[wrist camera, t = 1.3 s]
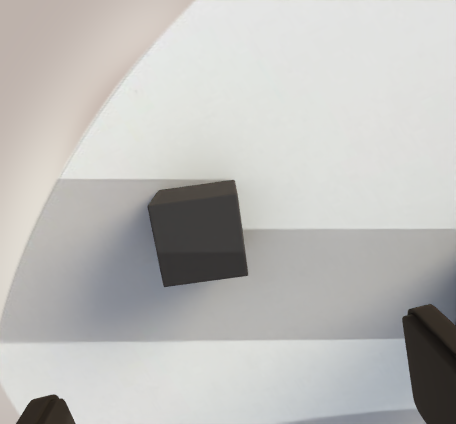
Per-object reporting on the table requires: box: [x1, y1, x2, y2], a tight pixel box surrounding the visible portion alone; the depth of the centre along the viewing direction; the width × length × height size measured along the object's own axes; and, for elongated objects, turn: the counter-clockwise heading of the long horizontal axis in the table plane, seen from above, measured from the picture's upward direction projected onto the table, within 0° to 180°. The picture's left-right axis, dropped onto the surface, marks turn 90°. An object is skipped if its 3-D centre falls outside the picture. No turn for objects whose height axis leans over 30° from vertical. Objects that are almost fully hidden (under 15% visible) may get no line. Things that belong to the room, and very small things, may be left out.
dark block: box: [148, 180, 248, 287], centre depth 23 cm, size 5×5×4 cm
